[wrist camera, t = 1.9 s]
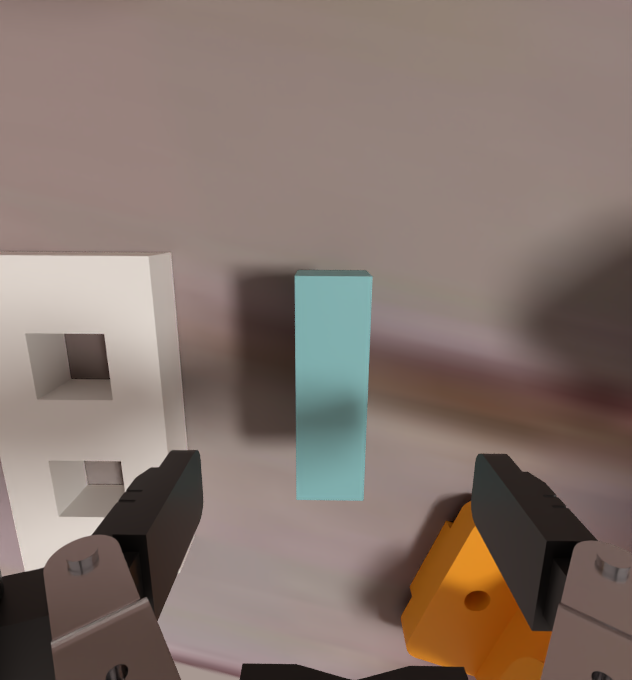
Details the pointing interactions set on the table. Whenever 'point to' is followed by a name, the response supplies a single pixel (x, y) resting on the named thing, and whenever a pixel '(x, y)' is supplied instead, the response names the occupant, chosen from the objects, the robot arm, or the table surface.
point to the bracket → (470, 611)
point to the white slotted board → (83, 386)
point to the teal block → (331, 382)
